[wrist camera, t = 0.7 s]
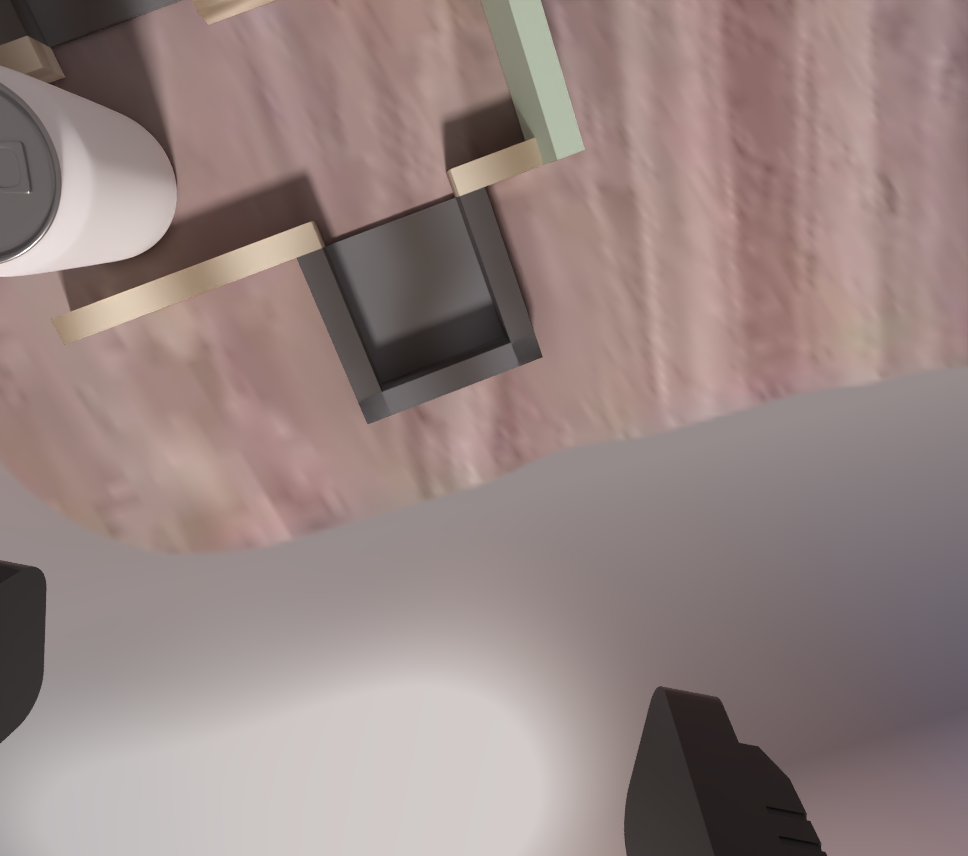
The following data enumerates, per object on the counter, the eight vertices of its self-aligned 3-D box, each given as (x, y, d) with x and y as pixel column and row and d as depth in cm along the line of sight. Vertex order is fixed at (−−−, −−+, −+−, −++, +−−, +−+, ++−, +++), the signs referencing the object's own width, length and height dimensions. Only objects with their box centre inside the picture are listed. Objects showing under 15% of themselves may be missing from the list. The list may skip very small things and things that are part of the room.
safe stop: (533, 168, 35) (557, 159, 31) (449, -98, 32) (461, -154, 27) (557, 159, 35) (584, 149, 31) (475, -108, 32) (491, -165, 27)
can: (12, 108, 32) (-196, 45, 20) (170, 107, 33) (55, 46, 21) (39, 263, 34) (-137, 285, 22) (189, 258, 34) (92, 278, 23)
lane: (165, 490, 37) (152, 506, 35) (-167, -133, 29) (-210, -161, 27) (607, 321, 38) (620, 327, 36) (405, -336, 30) (407, -379, 27)
